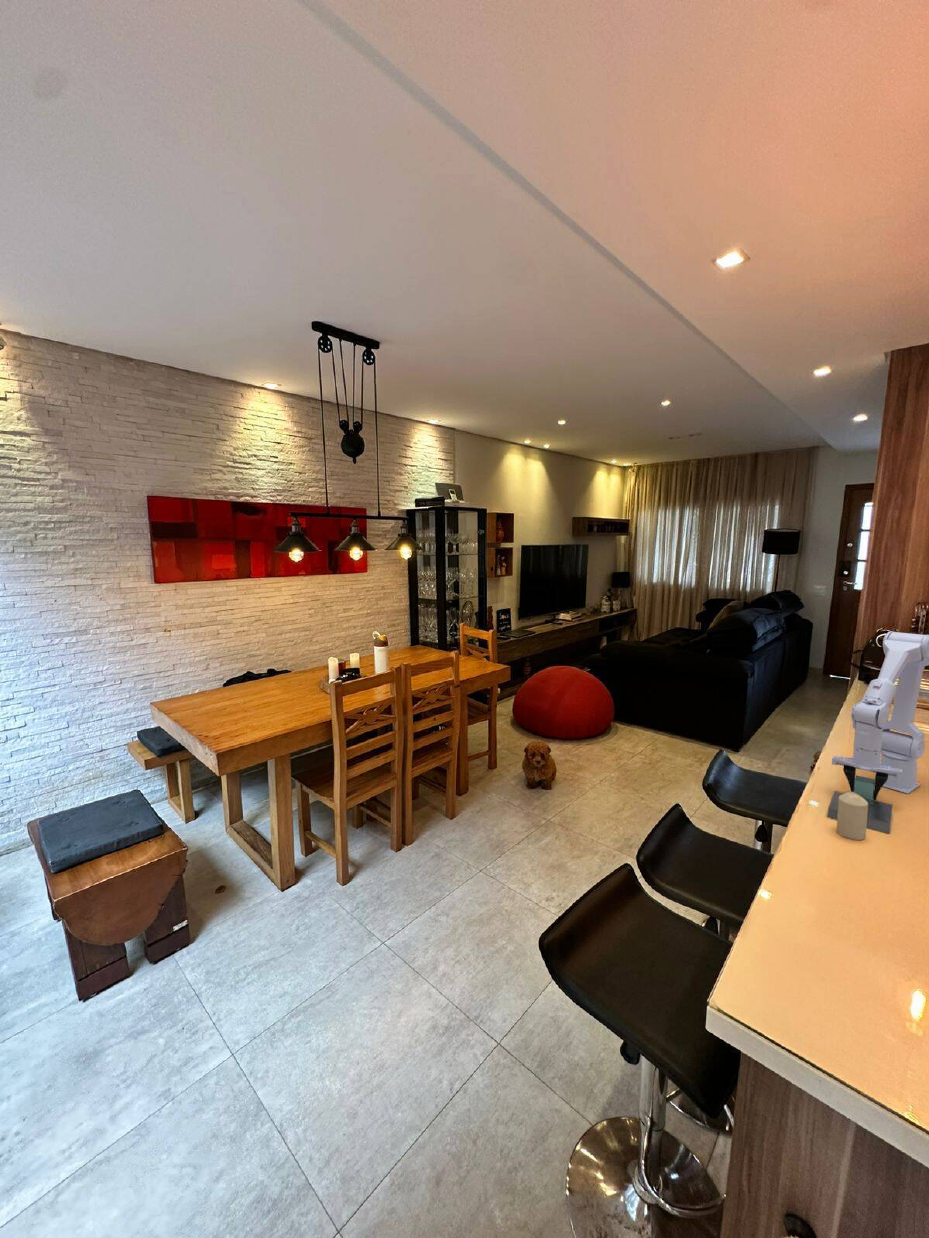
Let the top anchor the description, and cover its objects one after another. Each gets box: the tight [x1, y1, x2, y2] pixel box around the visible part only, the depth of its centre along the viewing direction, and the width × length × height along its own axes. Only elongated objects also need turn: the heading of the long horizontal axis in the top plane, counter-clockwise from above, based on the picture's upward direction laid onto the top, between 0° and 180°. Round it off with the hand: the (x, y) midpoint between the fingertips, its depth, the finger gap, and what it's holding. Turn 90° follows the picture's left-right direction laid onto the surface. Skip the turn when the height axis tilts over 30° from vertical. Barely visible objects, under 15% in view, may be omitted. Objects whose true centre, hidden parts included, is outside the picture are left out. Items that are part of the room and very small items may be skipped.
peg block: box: [854, 774, 875, 800], centre depth 135 cm, size 4×4×6 cm
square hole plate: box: [827, 790, 893, 834], centre depth 127 cm, size 12×12×2 cm
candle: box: [836, 791, 868, 841], centre depth 119 cm, size 6×6×10 cm
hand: (863, 795), depth 135 cm, fingers closed on peg block, 4 cm apart
